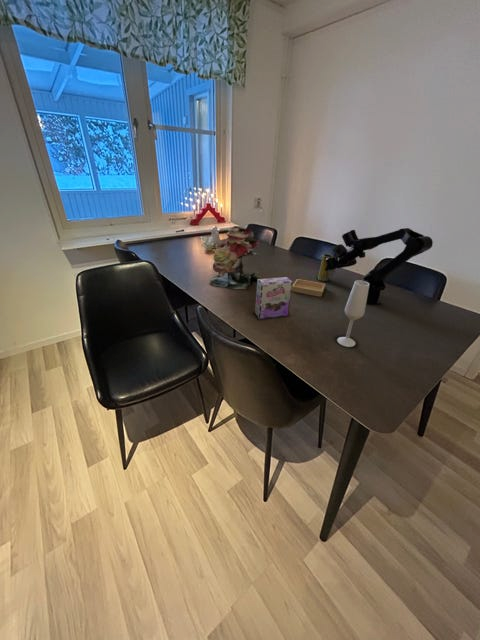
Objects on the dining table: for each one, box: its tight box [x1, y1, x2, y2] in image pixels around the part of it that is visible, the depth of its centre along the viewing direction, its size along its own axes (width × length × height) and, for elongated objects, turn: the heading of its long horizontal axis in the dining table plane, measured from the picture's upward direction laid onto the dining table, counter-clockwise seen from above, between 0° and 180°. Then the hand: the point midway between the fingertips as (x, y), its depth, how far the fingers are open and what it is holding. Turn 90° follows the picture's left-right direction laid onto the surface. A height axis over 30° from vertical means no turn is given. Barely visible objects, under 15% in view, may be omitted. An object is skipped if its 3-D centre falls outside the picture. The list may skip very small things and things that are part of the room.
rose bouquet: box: [209, 225, 262, 290], centre depth 146 cm, size 26×29×30 cm
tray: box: [291, 278, 327, 298], centre depth 145 cm, size 16×12×3 cm
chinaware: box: [199, 225, 222, 252], centre depth 209 cm, size 28×17×17 cm, turn 17°
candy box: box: [254, 276, 293, 320], centre depth 117 cm, size 14×6×16 cm, turn 105°
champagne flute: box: [336, 279, 369, 348], centre depth 98 cm, size 7×7×24 cm
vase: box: [317, 253, 333, 282], centre depth 156 cm, size 6×6×14 cm
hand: (331, 268), depth 152 cm, fingers open, 9 cm apart
